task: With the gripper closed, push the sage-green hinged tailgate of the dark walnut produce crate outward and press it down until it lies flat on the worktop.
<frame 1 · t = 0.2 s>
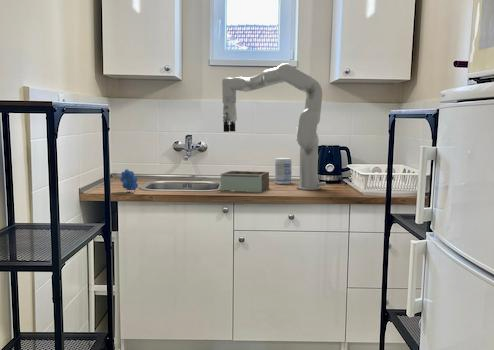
hand: (229, 131, 263), 31 cm above the table, fingers open, 9 cm apart
grapes: (128, 192, 245), on the table
crate: (245, 189, 252), on the table
tailgate: (240, 183, 244), point 4 cm above the table, hinge at 0.0°
supplement tub: (283, 183, 276), on the table
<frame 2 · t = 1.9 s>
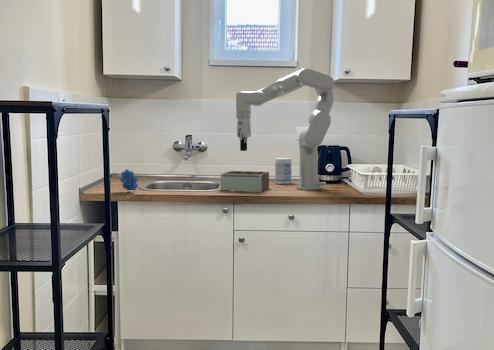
hand: (243, 150, 247), 21 cm above the table, fingers closed
nothing on the table moved.
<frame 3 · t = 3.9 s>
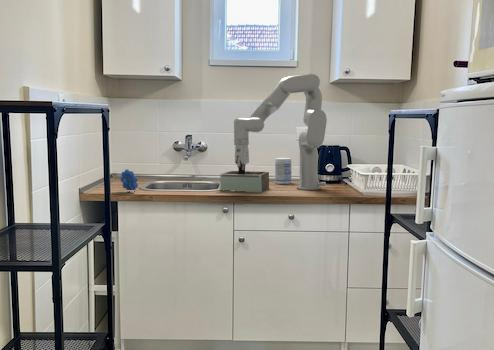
hand: (241, 177, 245), 7 cm above the table, fingers closed
tailgate: (240, 183, 244), point 5 cm above the table, hinge at 4.0°, touching gripper
everything else where it was.
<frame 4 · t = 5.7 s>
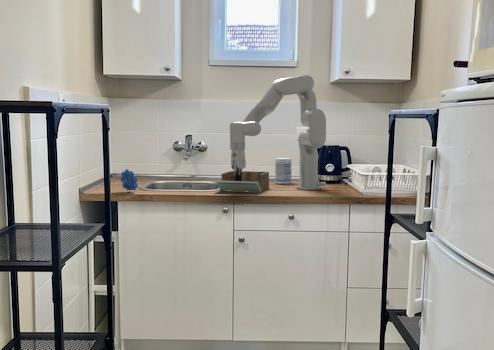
hand: (238, 182, 239), 5 cm above the table, fingers closed
tailgate: (238, 186, 241), point 3 cm above the table, hinge at 51.6°, touching gripper
everything else where it was.
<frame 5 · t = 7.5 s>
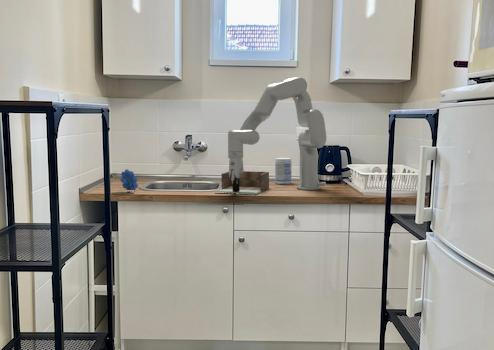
hand: (236, 191, 237), 1 cm above the table, fingers closed
tailgate: (237, 191, 240), point 1 cm above the table, hinge at 89.4°
everything else where it was.
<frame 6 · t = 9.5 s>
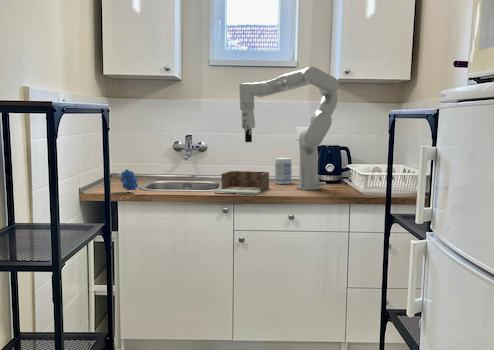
hand: (248, 142, 249), 25 cm above the table, fingers closed
nothing on the table moved.
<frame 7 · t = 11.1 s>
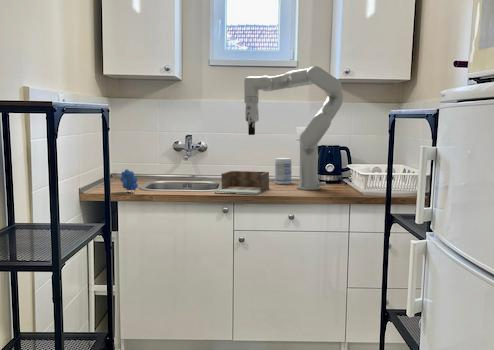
hand: (251, 134, 254), 29 cm above the table, fingers closed
nothing on the table moved.
at the end: tailgate at +89° (first picture: +0°) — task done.
